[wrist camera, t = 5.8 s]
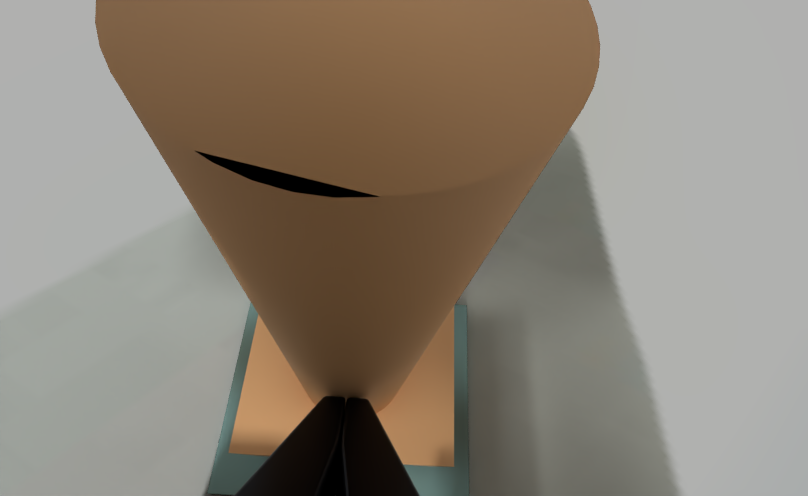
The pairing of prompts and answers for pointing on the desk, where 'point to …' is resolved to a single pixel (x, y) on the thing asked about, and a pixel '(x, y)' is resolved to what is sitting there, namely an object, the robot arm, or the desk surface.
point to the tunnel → (435, 485)
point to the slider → (353, 176)
